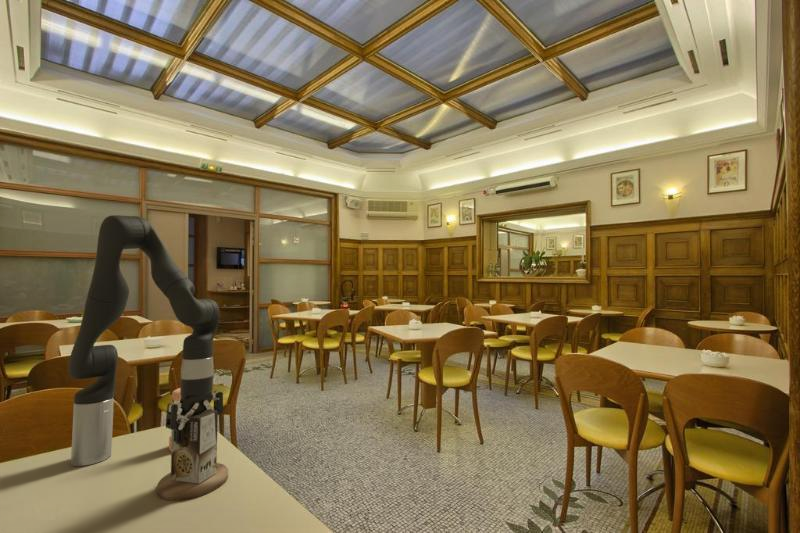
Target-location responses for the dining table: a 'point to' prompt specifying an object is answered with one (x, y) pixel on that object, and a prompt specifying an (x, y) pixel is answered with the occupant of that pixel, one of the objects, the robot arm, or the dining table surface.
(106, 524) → the dining table surface
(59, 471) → the dining table surface
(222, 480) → the disc
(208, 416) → the coffee box
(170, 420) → the robot arm
